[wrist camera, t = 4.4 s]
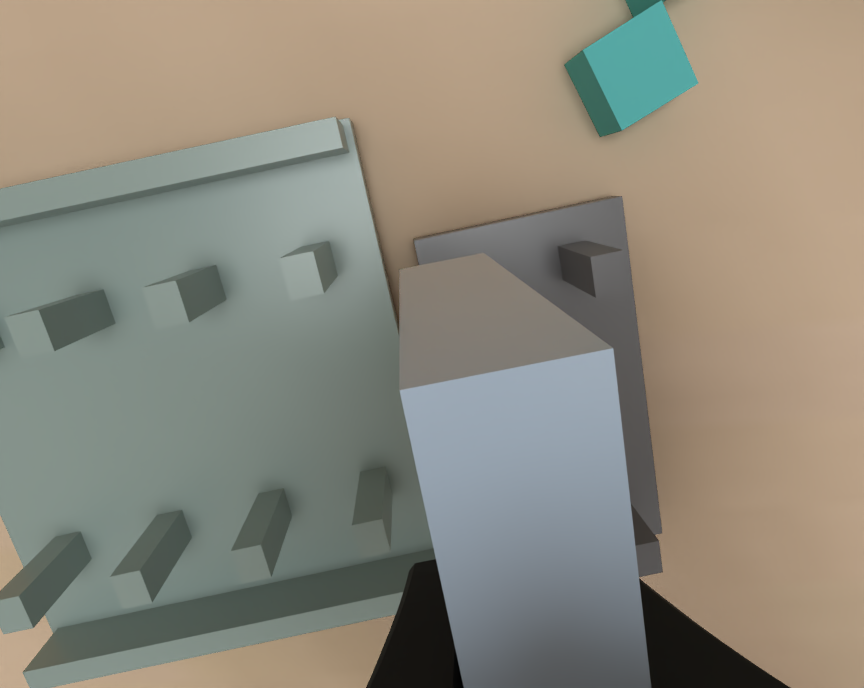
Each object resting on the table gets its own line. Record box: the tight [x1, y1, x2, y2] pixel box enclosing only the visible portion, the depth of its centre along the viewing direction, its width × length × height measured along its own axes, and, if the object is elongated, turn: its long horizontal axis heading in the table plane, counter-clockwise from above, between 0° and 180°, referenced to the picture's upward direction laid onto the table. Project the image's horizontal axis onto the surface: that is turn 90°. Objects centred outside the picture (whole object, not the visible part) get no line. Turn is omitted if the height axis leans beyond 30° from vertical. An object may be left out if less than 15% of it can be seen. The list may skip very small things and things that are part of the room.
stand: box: [414, 196, 663, 577], centre depth 17 cm, size 11×6×4 cm, turn 12°
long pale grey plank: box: [399, 253, 651, 688], centre depth 8 cm, size 10×1×6 cm, turn 11°
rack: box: [0, 117, 436, 688], centre depth 16 cm, size 14×13×4 cm
